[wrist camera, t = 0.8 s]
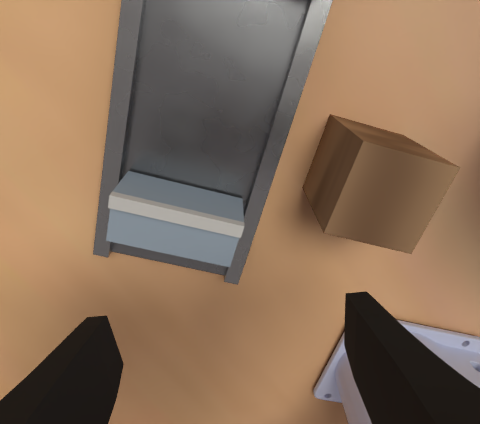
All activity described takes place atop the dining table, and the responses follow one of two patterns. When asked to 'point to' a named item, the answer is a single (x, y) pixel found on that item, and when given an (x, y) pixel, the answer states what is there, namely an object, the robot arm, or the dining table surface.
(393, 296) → the dining table surface
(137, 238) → the block
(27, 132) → the dining table surface
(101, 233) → the vise
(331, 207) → the block
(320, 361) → the dining table surface
